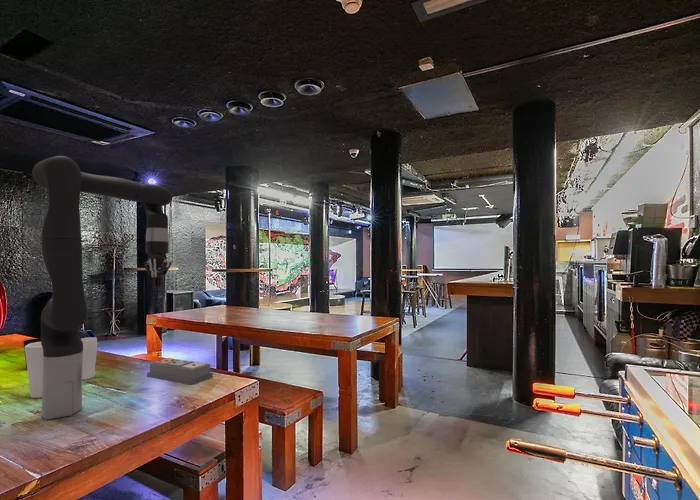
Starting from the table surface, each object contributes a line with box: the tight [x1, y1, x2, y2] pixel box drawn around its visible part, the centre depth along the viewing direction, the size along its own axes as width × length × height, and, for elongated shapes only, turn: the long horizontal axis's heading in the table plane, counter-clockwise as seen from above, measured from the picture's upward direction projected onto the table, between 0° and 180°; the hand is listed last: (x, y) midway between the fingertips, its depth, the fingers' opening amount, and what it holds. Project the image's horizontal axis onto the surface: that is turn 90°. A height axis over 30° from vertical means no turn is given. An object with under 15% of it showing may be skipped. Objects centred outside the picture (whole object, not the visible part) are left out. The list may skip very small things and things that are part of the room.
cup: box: [23, 337, 41, 371], centre depth 151 cm, size 8×8×12 cm
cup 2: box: [24, 342, 43, 399], centre depth 120 cm, size 11×10×17 cm
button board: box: [146, 357, 213, 386], centre depth 138 cm, size 24×10×5 cm, turn 65°
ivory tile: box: [181, 361, 207, 369], centre depth 134 cm, size 6×6×4 cm
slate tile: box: [168, 359, 193, 367], centre depth 138 cm, size 6×6×4 cm
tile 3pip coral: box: [153, 357, 178, 365], centre depth 141 cm, size 6×6×4 cm
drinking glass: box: [80, 336, 98, 381], centre depth 137 cm, size 7×7×15 cm
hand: (156, 287), depth 132 cm, fingers closed
